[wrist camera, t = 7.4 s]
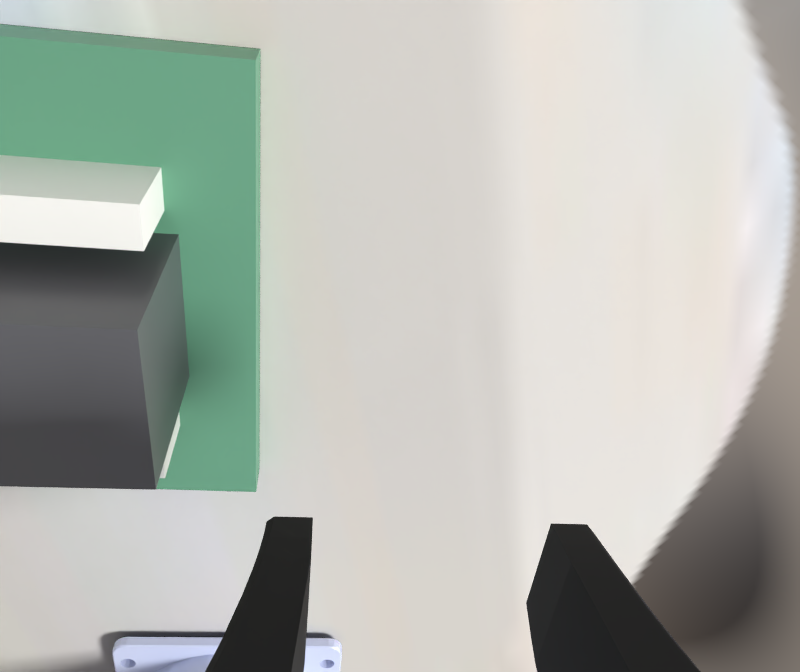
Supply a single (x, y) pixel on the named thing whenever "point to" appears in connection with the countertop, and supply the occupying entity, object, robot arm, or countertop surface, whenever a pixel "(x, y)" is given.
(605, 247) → the countertop surface
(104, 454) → the plug
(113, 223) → the board
